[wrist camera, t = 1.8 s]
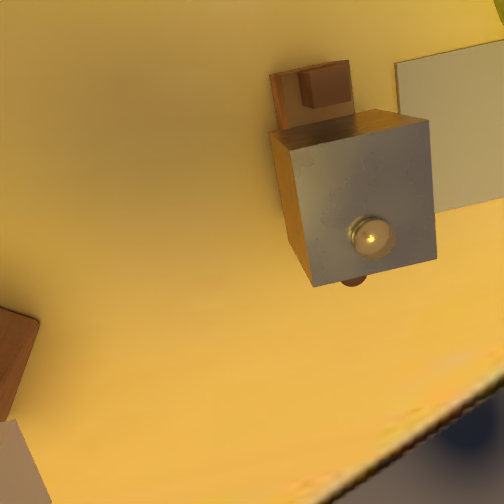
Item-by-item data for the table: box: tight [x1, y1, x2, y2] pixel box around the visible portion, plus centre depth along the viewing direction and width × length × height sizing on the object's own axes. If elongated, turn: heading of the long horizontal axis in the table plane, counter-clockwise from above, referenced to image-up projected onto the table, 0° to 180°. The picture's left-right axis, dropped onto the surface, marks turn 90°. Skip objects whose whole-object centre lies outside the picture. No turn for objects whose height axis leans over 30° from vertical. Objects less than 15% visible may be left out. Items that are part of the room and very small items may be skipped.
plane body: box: [269, 60, 367, 287], centre depth 30 cm, size 13×4×8 cm, turn 12°
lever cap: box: [269, 109, 437, 287], centre depth 26 cm, size 7×6×8 cm
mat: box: [395, 40, 504, 213], centre depth 33 cm, size 11×8×1 cm
